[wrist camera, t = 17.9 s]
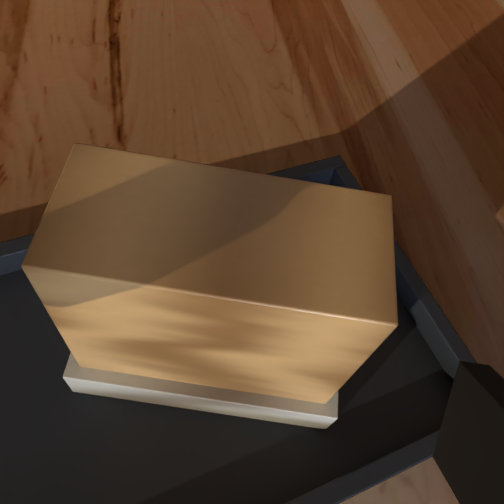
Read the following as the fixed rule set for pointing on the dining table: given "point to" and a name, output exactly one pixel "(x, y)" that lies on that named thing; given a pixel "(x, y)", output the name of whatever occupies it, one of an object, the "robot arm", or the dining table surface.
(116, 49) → the dining table surface
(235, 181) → the eraser
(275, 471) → the tray
